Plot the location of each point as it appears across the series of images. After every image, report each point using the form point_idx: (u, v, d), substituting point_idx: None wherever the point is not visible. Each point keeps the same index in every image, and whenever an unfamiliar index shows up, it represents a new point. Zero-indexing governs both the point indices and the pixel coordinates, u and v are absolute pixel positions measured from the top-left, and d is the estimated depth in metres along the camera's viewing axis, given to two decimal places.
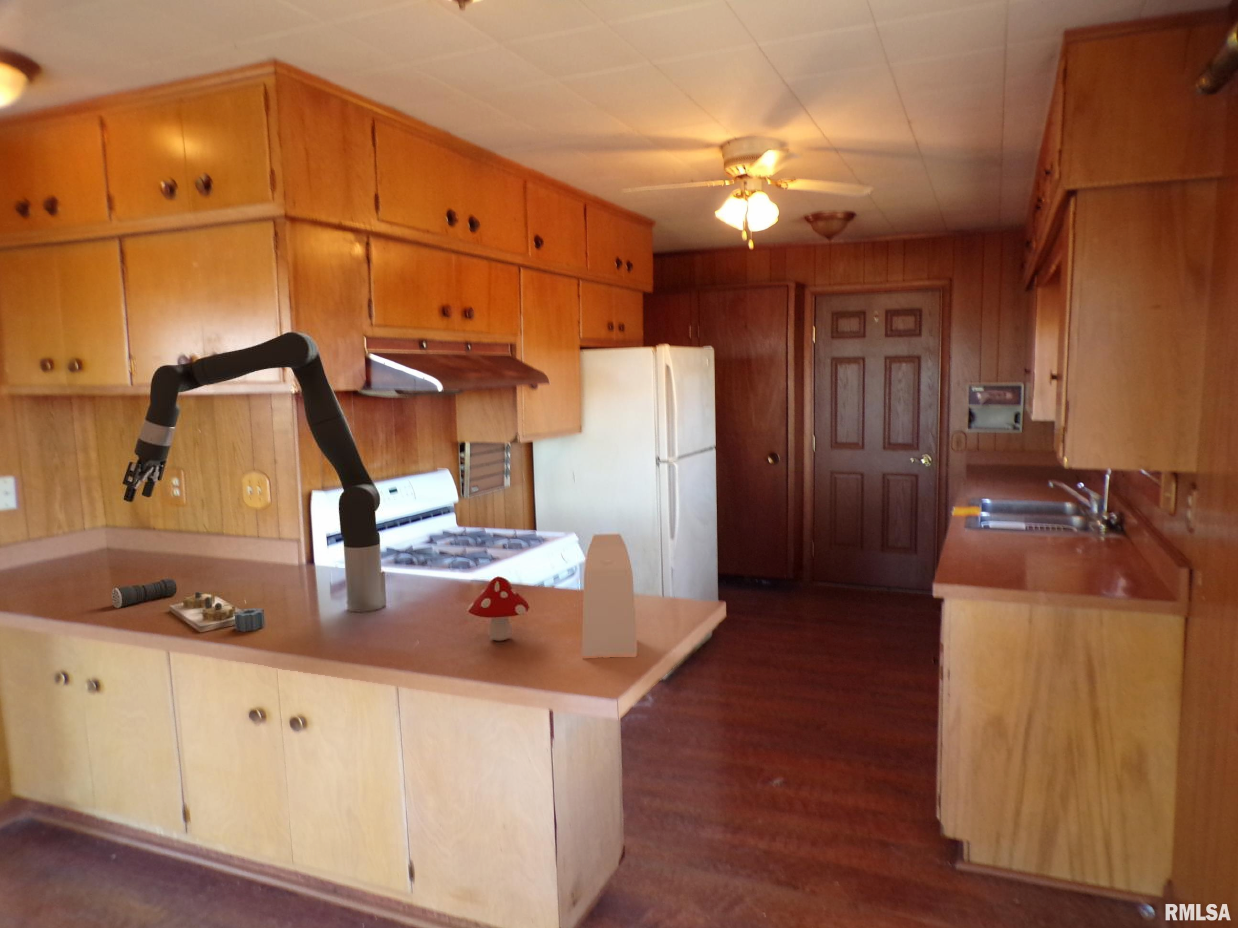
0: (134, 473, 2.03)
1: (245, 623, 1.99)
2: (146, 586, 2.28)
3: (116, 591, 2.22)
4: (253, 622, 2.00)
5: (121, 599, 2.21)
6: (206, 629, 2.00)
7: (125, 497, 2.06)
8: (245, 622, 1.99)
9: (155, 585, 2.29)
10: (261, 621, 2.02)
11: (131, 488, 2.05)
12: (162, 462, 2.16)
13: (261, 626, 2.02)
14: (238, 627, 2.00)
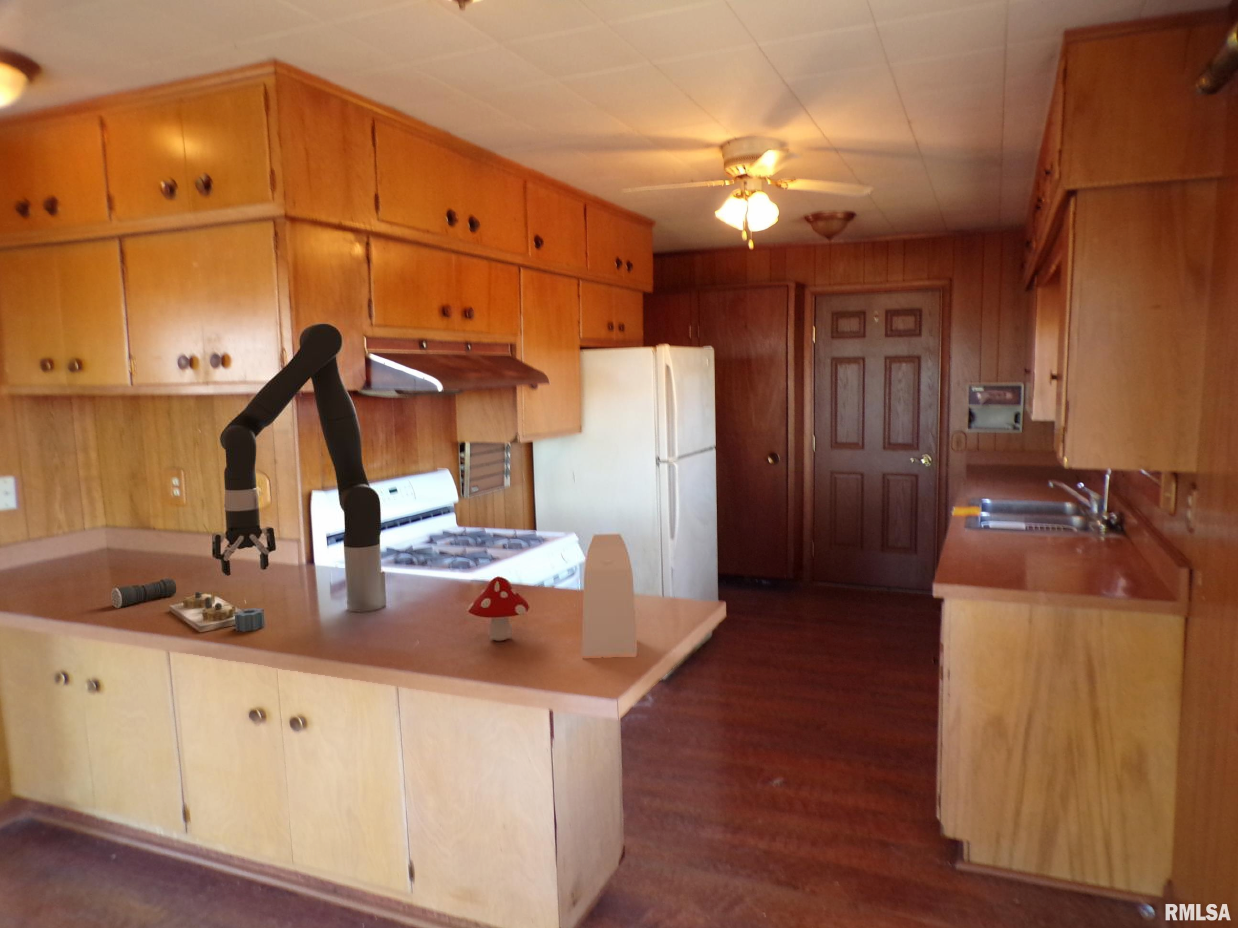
0: (215, 544, 1.95)
1: (245, 623, 1.99)
2: (146, 586, 2.28)
3: (116, 591, 2.22)
4: (253, 622, 2.00)
5: (121, 599, 2.21)
6: (206, 629, 2.00)
7: (222, 571, 1.98)
8: (245, 622, 1.99)
9: (155, 585, 2.29)
10: (261, 621, 2.02)
11: (222, 561, 1.97)
12: (268, 530, 2.03)
13: (261, 626, 2.02)
14: (238, 627, 2.00)
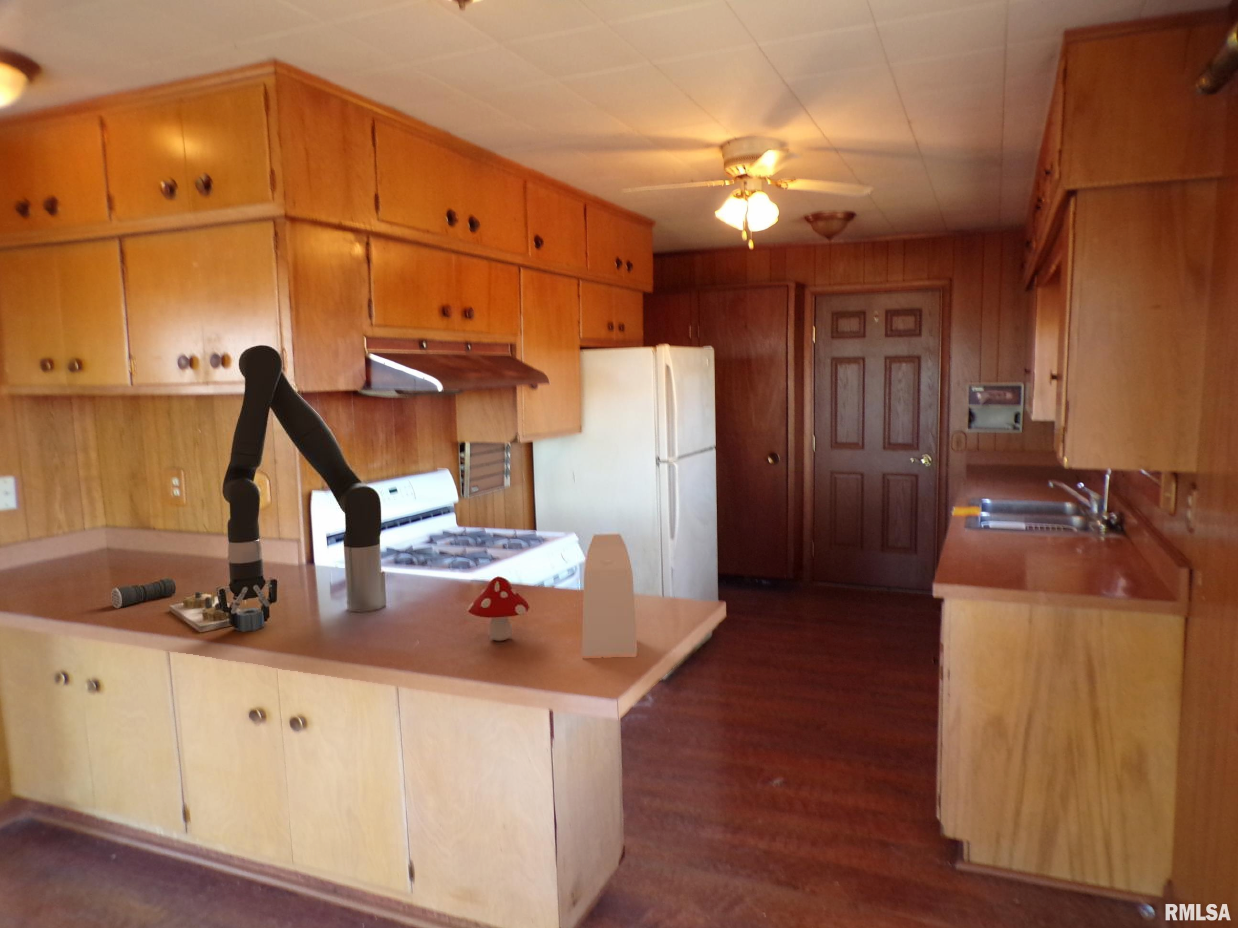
0: (220, 598, 1.97)
1: (245, 623, 1.99)
2: (145, 586, 2.28)
3: (116, 591, 2.22)
4: (253, 622, 2.00)
5: (121, 599, 2.21)
6: (206, 629, 2.00)
7: (230, 623, 2.00)
8: (245, 622, 1.99)
9: (154, 585, 2.29)
10: (261, 621, 2.02)
11: (230, 614, 1.99)
12: (271, 582, 2.05)
13: (261, 626, 2.02)
14: (238, 627, 2.00)
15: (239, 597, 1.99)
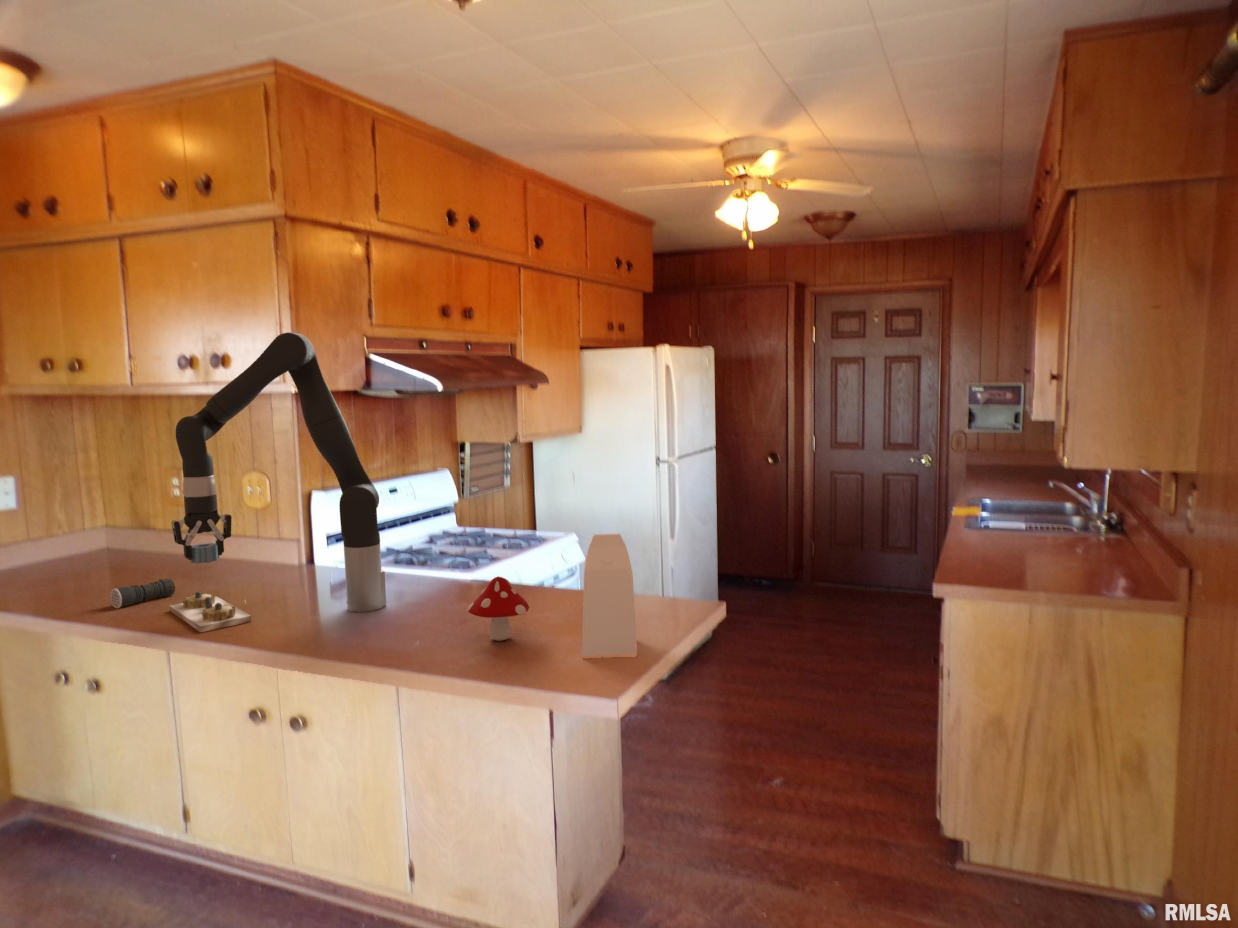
0: (175, 530, 2.05)
1: (199, 555, 2.08)
2: (145, 586, 2.28)
3: (116, 591, 2.22)
4: (207, 554, 2.08)
5: (121, 599, 2.21)
6: (206, 629, 2.00)
7: None
8: (199, 554, 2.08)
9: (154, 585, 2.29)
10: (215, 554, 2.10)
11: (184, 546, 2.07)
12: (226, 517, 2.13)
13: (215, 559, 2.11)
14: (193, 559, 2.09)
15: (193, 530, 2.07)
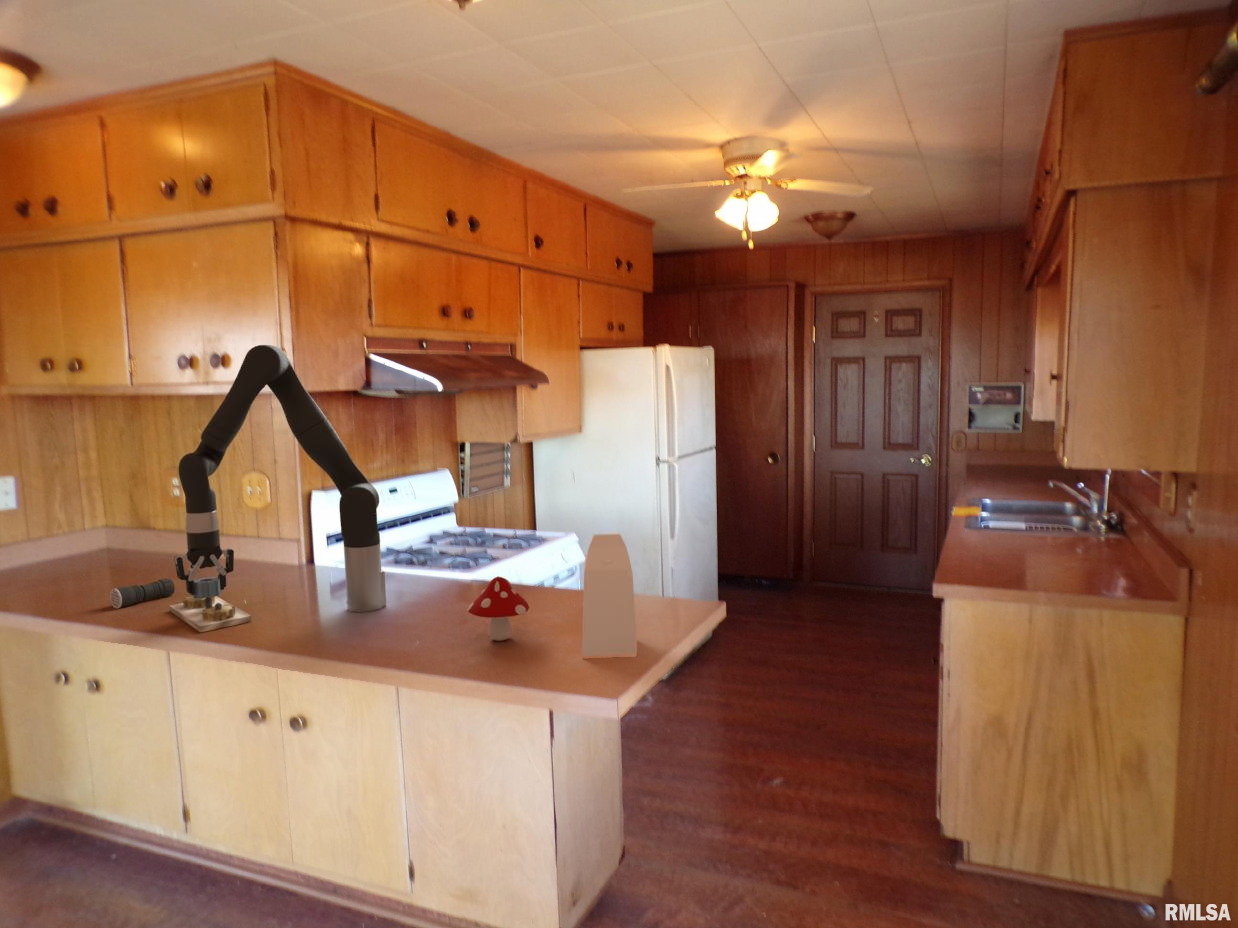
0: (177, 566, 2.06)
1: (202, 590, 2.09)
2: (145, 586, 2.28)
3: (116, 591, 2.21)
4: (209, 590, 2.10)
5: (121, 599, 2.21)
6: (206, 629, 2.00)
7: (187, 591, 2.09)
8: (202, 589, 2.09)
9: (153, 585, 2.29)
10: (217, 589, 2.12)
11: (187, 581, 2.08)
12: (228, 552, 2.14)
13: (217, 594, 2.12)
14: (195, 594, 2.10)
15: (196, 565, 2.08)
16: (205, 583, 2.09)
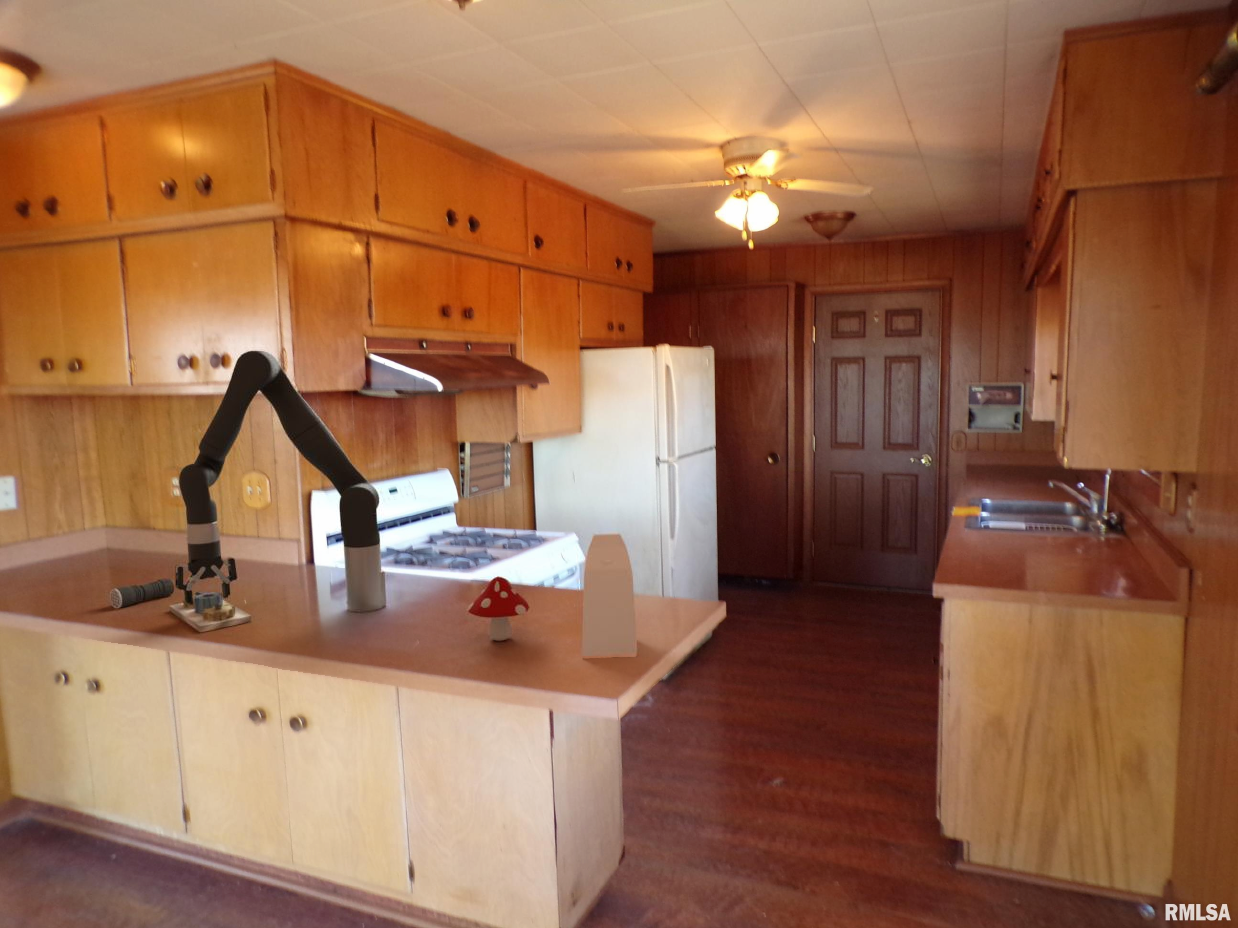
0: (177, 575, 2.06)
1: (203, 606, 2.10)
2: (144, 586, 2.28)
3: (115, 592, 2.21)
4: (211, 605, 2.10)
5: (121, 599, 2.21)
6: (206, 629, 2.00)
7: (185, 600, 2.09)
8: (203, 605, 2.10)
9: (153, 585, 2.29)
10: None
11: (185, 591, 2.08)
12: (229, 561, 2.15)
13: None
14: (197, 610, 2.10)
15: (196, 576, 2.08)
16: (207, 599, 2.10)
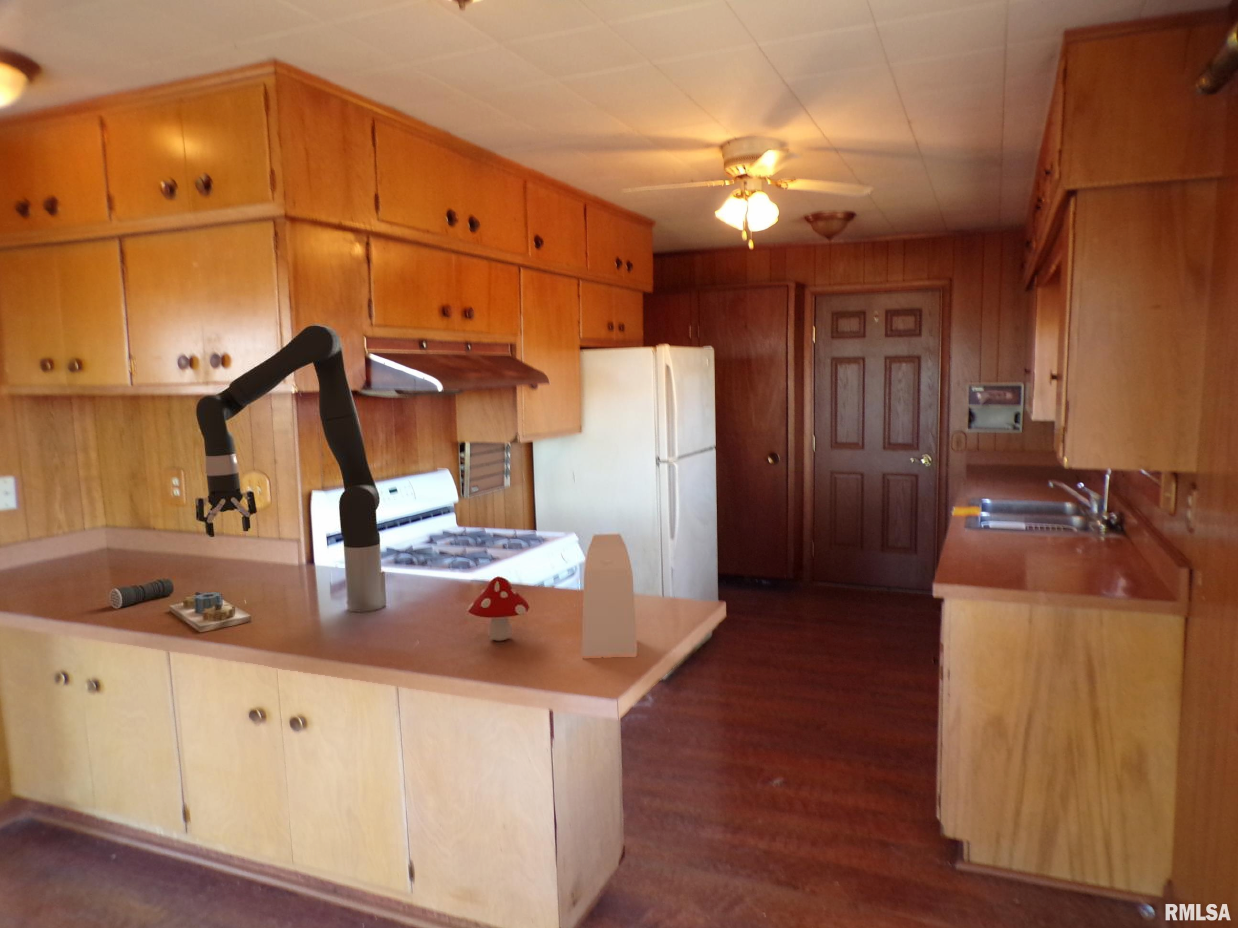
0: (198, 507, 2.07)
1: (203, 606, 2.10)
2: (144, 586, 2.28)
3: (115, 592, 2.21)
4: (211, 605, 2.10)
5: (121, 599, 2.21)
6: (206, 629, 2.00)
7: (206, 533, 2.10)
8: (203, 605, 2.10)
9: (153, 585, 2.29)
10: None
11: (206, 523, 2.09)
12: (248, 494, 2.15)
13: None
14: (197, 610, 2.10)
15: (216, 508, 2.09)
16: (207, 599, 2.10)
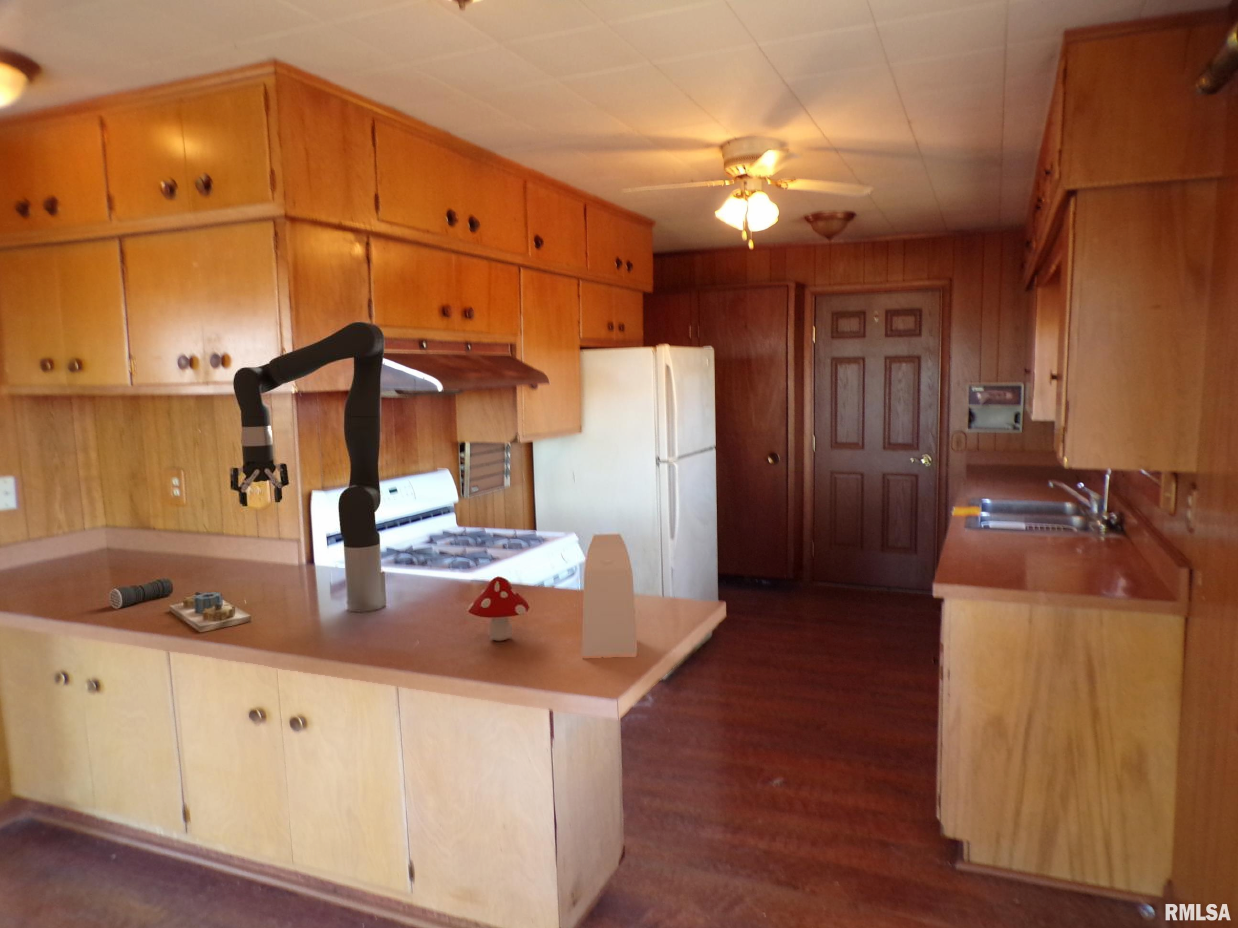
0: (233, 476, 2.11)
1: (203, 606, 2.10)
2: (144, 586, 2.28)
3: (115, 592, 2.21)
4: (211, 605, 2.10)
5: (121, 599, 2.21)
6: (206, 629, 2.00)
7: (240, 502, 2.14)
8: (203, 605, 2.10)
9: (152, 585, 2.29)
10: None
11: (239, 492, 2.13)
12: (281, 466, 2.19)
13: None
14: (197, 610, 2.10)
15: (250, 478, 2.13)
16: (207, 599, 2.10)
